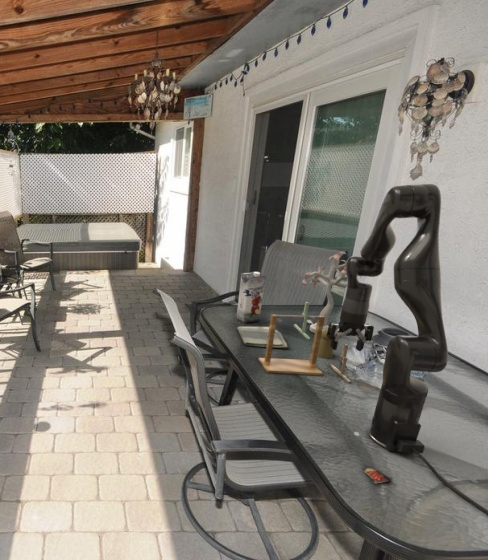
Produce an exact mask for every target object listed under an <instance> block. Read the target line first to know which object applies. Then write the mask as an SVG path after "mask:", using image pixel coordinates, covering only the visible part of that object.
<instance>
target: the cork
mask: <svg viewBox="0 0 488 560" xmlns="http://www.w3.org/2000/svg"><path fill="white" fill-rule="evenodd" d="M327 331H328V330H323V331H322V335H321V340H320V345H319V350H318V355H317V357H321V358H325V359H332V358H333V356H334V350H333V349H332V348H331V346H330V344H331V339H329V338H328V337H327V336H326V335H327Z"/></svg>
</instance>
